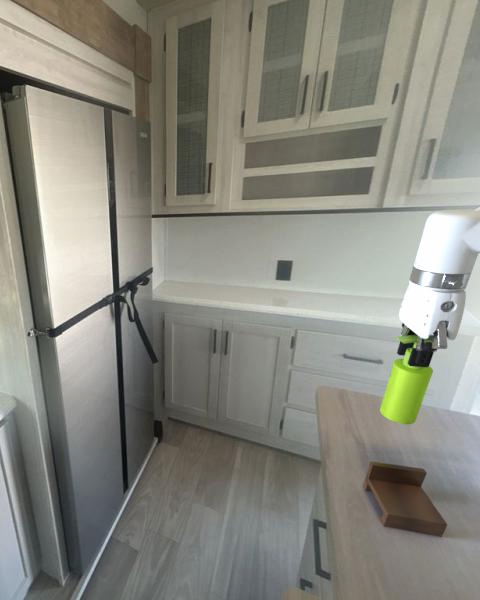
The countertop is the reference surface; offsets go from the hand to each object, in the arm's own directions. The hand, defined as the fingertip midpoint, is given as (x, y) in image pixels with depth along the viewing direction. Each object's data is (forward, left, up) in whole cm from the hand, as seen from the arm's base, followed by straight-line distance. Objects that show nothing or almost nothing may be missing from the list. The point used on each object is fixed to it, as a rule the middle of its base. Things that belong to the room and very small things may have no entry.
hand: (412, 359), depth 69 cm
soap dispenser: (0, 0, -15) cm, 15 cm away
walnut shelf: (+3, +14, -29) cm, 32 cm away
